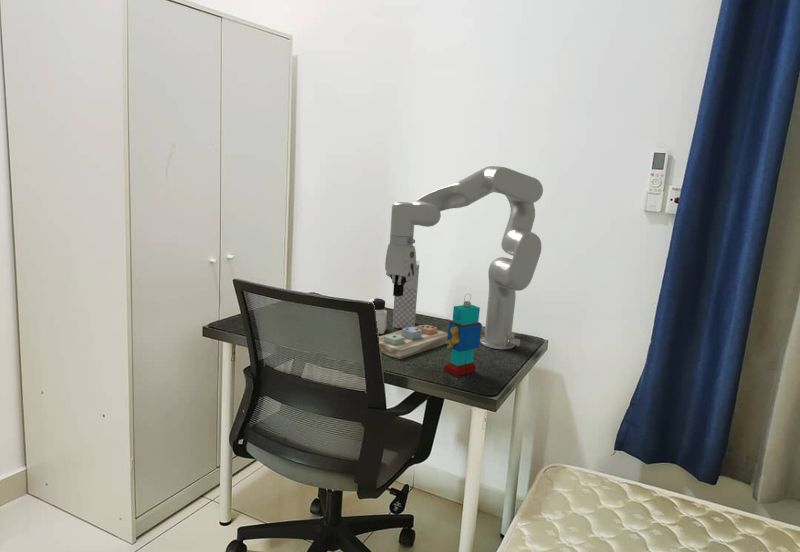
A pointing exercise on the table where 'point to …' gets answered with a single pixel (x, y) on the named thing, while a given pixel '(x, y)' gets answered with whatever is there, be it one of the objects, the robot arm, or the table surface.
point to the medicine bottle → (380, 314)
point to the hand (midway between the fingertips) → (398, 295)
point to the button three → (428, 329)
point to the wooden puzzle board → (413, 344)
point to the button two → (411, 333)
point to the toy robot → (463, 338)
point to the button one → (394, 339)
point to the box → (406, 304)
